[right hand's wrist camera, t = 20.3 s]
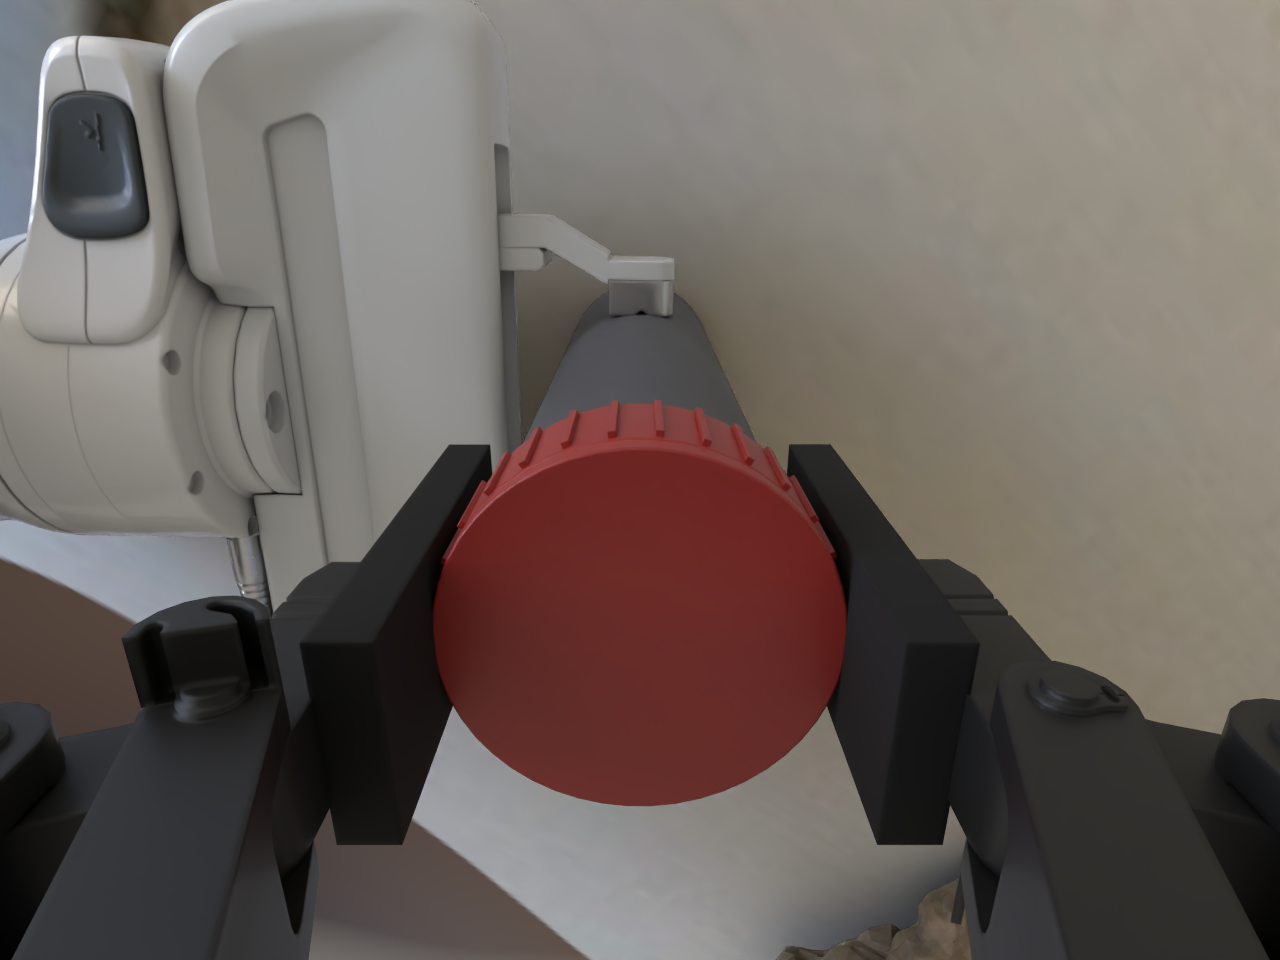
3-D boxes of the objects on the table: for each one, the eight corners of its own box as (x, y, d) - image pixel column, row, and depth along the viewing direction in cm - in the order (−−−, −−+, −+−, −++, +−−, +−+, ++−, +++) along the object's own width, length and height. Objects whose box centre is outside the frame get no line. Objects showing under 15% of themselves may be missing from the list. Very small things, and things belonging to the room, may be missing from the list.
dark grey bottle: (597, 264, 27) (518, 395, 10) (726, 310, 28) (876, 514, 10) (556, 391, 29) (426, 704, 11) (679, 432, 30) (737, 791, 12)
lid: (869, 642, 13) (913, 726, 11) (565, 762, 13) (552, 860, 11) (734, 331, 11) (754, 363, 9) (391, 494, 12) (340, 557, 10)
